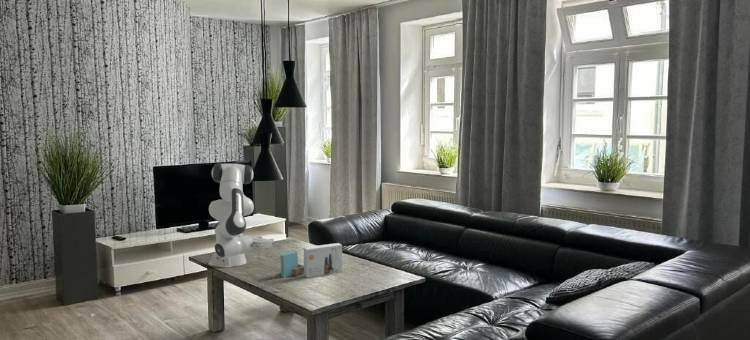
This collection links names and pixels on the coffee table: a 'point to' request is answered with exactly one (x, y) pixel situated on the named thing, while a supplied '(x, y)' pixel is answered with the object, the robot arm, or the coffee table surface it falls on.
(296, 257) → the teal rectangular block
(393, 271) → the coffee table surface
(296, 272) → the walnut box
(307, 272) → the skincare box
